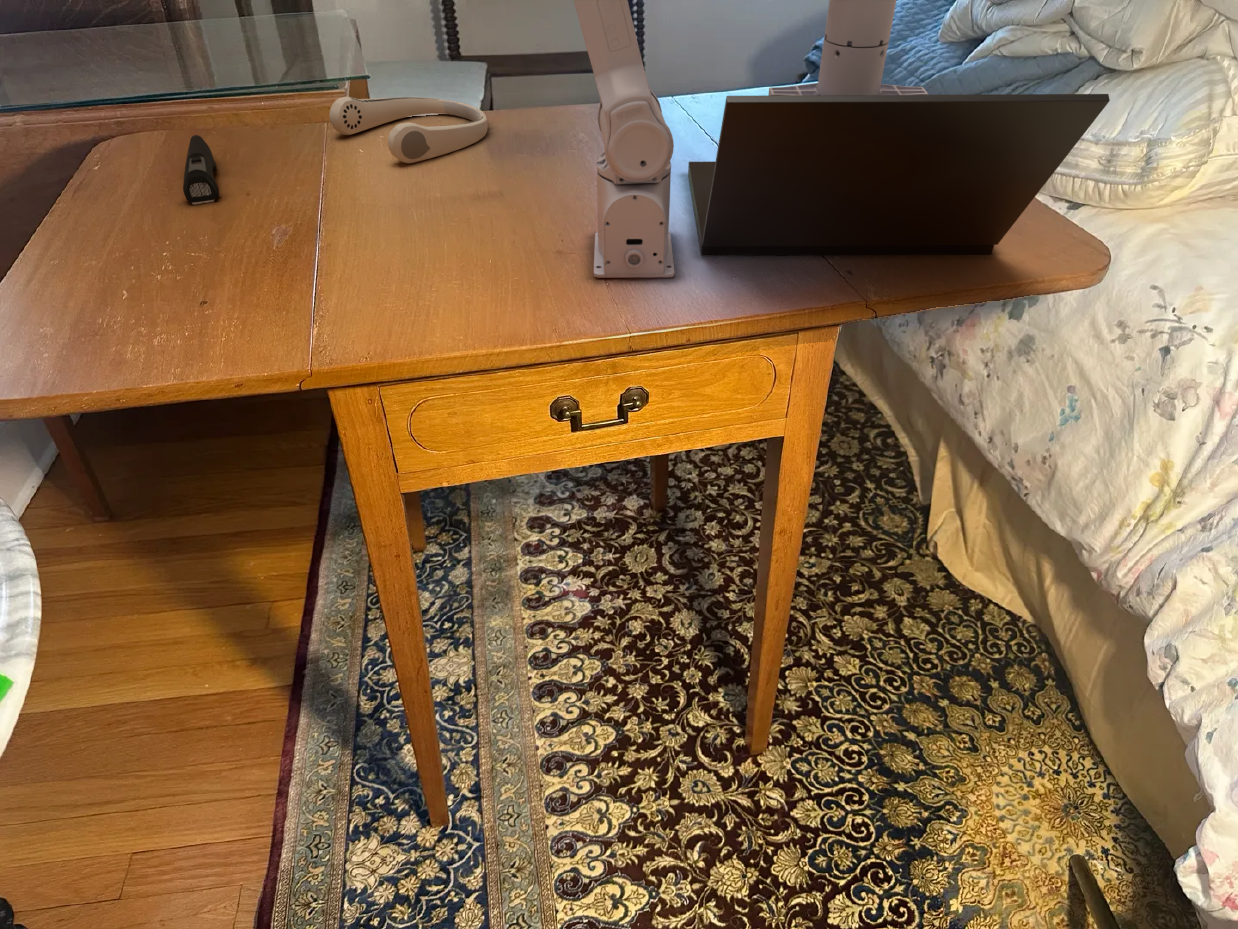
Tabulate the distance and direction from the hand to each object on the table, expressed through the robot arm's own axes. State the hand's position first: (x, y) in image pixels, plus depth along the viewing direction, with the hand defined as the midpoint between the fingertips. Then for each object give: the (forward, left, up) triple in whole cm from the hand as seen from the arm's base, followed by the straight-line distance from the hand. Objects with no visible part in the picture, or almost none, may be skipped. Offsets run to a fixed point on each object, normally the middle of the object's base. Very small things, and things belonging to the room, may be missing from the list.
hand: (832, 185), depth 86 cm
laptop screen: (-8, -2, +4) cm, 9 cm away
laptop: (+8, -2, -6) cm, 11 cm away
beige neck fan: (+33, +48, -7) cm, 59 cm away
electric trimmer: (+18, +72, -7) cm, 75 cm away
